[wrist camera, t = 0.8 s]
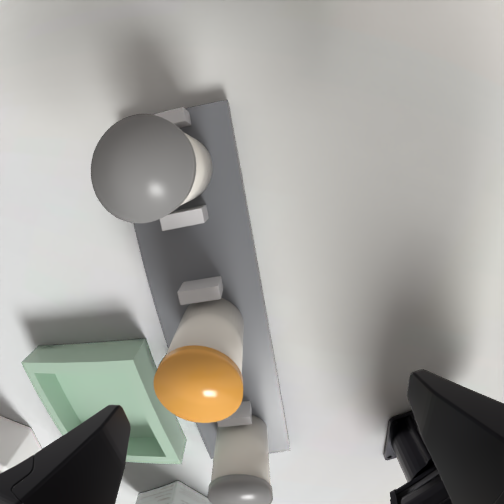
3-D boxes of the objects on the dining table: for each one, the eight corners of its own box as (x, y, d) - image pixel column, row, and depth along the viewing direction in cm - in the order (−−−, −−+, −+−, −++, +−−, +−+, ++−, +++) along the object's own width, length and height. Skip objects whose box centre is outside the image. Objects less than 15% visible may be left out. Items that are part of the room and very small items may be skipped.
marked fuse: (250, 347, 21) (250, 418, 14) (190, 355, 21) (169, 424, 14) (238, 290, 20) (232, 349, 13) (174, 300, 20) (141, 358, 13)
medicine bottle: (-8, 410, 25) (-55, 468, 14) (32, 426, 25) (-15, 495, 14) (13, 448, 27) (-25, 504, 16) (52, 464, 27) (17, 529, 16)
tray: (186, 440, 25) (181, 463, 22) (87, 436, 25) (76, 456, 22) (145, 338, 22) (133, 359, 19) (38, 345, 23) (21, 362, 20)
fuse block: (289, 441, 25) (298, 514, 17) (212, 449, 25) (203, 521, 17) (228, 103, 18) (213, 60, 10) (123, 129, 19) (53, 111, 11)
